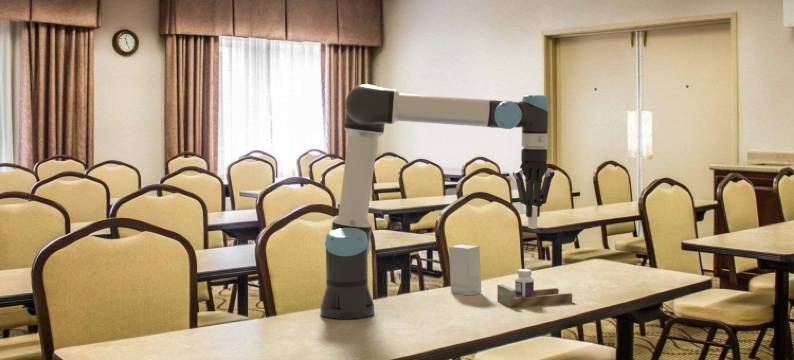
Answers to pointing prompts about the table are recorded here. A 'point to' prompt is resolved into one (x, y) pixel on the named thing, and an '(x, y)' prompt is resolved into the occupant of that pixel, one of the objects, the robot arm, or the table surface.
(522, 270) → the pill bottle
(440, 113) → the robot arm
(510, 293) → the rail
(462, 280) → the skincare box
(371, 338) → the table surface
